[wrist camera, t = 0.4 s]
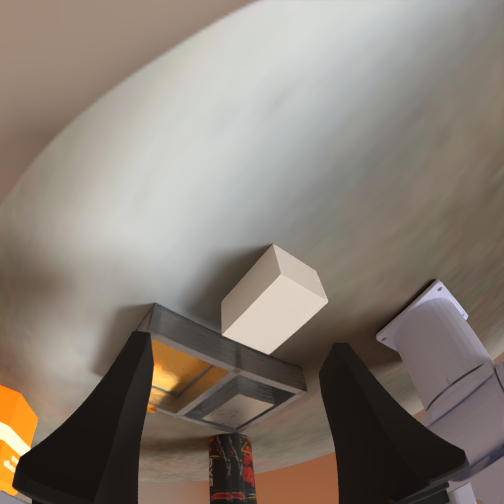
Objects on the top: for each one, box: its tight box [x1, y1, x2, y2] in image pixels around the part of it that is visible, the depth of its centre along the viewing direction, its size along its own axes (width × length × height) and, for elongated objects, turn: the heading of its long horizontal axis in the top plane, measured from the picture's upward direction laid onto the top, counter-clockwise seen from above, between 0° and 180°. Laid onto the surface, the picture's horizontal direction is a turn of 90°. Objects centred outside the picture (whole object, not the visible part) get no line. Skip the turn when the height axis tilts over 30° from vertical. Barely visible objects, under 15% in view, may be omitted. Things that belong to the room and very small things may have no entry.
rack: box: [136, 303, 307, 434], centre depth 25 cm, size 15×11×3 cm
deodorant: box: [209, 434, 257, 504], centre depth 30 cm, size 6×6×15 cm
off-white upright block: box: [221, 244, 328, 355], centre depth 20 cm, size 4×6×4 cm, turn 143°
